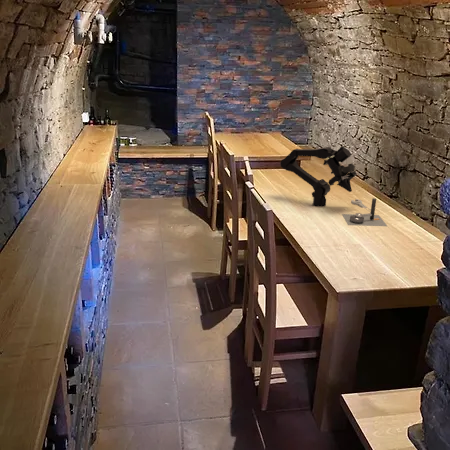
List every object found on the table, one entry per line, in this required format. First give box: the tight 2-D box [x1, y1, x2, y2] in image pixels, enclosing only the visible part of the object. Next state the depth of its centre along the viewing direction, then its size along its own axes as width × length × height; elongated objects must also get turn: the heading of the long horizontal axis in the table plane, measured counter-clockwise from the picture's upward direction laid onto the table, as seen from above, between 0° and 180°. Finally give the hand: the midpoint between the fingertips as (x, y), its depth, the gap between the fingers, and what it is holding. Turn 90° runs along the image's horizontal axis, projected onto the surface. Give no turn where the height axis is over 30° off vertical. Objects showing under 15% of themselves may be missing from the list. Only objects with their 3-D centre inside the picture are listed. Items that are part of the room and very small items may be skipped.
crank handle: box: [350, 197, 377, 223], centre depth 254 cm, size 8×13×11 cm, turn 133°
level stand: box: [341, 213, 388, 227], centre depth 257 cm, size 20×17×1 cm
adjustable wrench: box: [351, 198, 371, 213], centre depth 279 cm, size 25×6×2 cm, turn 6°
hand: (350, 191), depth 263 cm, fingers closed
